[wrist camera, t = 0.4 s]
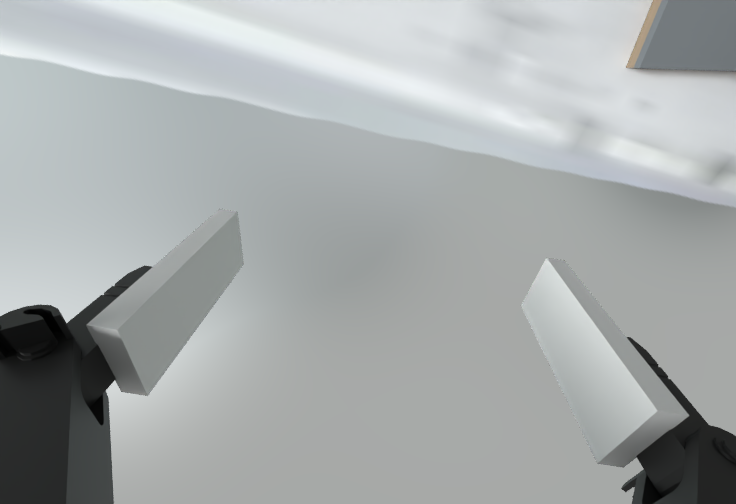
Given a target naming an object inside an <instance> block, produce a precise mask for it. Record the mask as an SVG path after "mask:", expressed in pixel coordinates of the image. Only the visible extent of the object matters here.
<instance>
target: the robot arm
mask: <svg viewBox="0 0 736 504" xmlns="http://www.w3.org/2000/svg"><path fill="white" fill-rule="evenodd" d="M243 264H244V263H243V255H242V245H241V237H240V229H239V220H238V212H237V211H231V210H223V209H219V210H218V211H216V212H215V213H214V214H213V215H212V216H211V217H210V218H208V219H207V220H206V221H205V222H204V223H203V224H202V225H200V226H199V227H198V228H197V229H196V230H195V231H193V232H192V233H191V234H190V235H189V236H188V237H187V238H186V239H184V240H183V241H182V242H181V243H180V244H179V245H177V246H176V247H175V248H174V249H173V250H172V251H170V252H169V253H168V254H167V255H166V256H165V257H164V258H163V259H161V260H160V261H159V262H158V263H157V264H156V265H154V266H153V267H150V266H143V267H141V268H139V269H137V270H134V271H132V272H130V273H128V274H127V275H126V276H124V277H123V278H122V279H121V280H119V281H118V282H117V283H116V284H115V286H112V287H111V288H110V289H108V290H107V291H106V292H105V293H104V295H101V296H100V297H99V298H97V299H96V300H95V301H94V302H92V303H91V304H90V305H89V306H87V307H86V308H85V309H84V310H83V311H81V312H80V313H79V314H78V315H76V316H75V317H74V318H73V319H71V320H70V321H69V322H68V323H67V324H66V322H65V320H64V318H63V317H62V315H61V313H60V312H59V310H58V309H57V308H55V307H53V306H51V305H34V306H27V307H23V308H20V309H17V310H14V311H10V312H8V313H6V314H4V315H2V316H0V504H113V503H114V502H113V481H112V461H111V441H110V420H109V401H108V396H107V393H106V389H107V388H108V387H109V386H110V385H111V384H112V383H113V381H114V380H115V381H116V382H117V384H118V386H119V388H120V390H121V392H125V393H133V394H139V395H145V396H148V395H149V393H150V392H151V390H152V389H153V388H154V387H155V385H156V384H157V382H158V381H159V380H160V378H161V377H162V375H163V374H164V373H165V371H166V370H167V368H168V367H169V366H170V365H171V363H172V362H173V360H174V359H175V358H176V356H177V355H178V354H179V352H180V351H181V350H182V348H183V347H184V345H185V344H186V343H187V341H188V340H189V339H190V337H191V336H192V334H193V333H194V332H195V330H196V329H197V328H198V326H199V325H200V324H201V322H202V321H203V320H204V318H205V317H206V315H207V314H208V313H209V311H210V310H211V309H212V307H213V306H214V304H215V303H216V302H217V300H218V299H219V298H220V296H221V295H222V294H223V292H224V291H225V289H226V288H227V287H228V285H229V284H230V283H231V281H232V280H233V278H234V277H235V276H236V274H237V273H238V272H239V270H240V269H241V268H242V266H243ZM521 307H522V309H523V311H524V314H525V315H526V318H527V320H528V322H529V324H530V326H531V328H532V330H533V332H534V334H535V336H536V338H537V340H538V342H539V344H540V346H541V348H542V351H543V352H544V354H545V357H546V359H547V361H548V363H549V365H550V367H551V369H552V371H553V373H554V375H555V377H556V379H557V382H558V384H559V385H560V387H561V389H562V392H563V394H564V396H565V398H566V400H567V402H568V404H569V406H570V408H571V410H572V412H573V414H574V416H575V418H576V420H577V423H578V425H579V427H580V429H581V431H582V433H583V435H584V437H585V439H586V441H587V443H588V445H589V447H590V449H591V452H592V454H593V456H594V458H595V460H596V462H597V463H598V464H604V465H610V466H617V467H625V466H626V465H627V464H629V463H630V462H631V461H632V460H634V459H635V458H636V457H637V458H638V460H639V462H640V463H641V465H642V467H643V468H644V470H642V471H641V472H640V473H638V474H637V475H636V476H634V477H633V478H632V479H630V480H629V481H628V482H626V483H625V484H624V485H623V487H622V490H624V491H625V492H627V491H628V490H629V489H631V488H632V487H635V491H634V495H633V501H632V504H736V436H734V435H733V434H731V433H729V432H727V431H725V430H723V429H721V428H718V427H714V426H710V425H708V424H707V422H706V421H705V420H704V419H703V418H702V416H701V415H700V414H699V413H698V412H697V411H696V409H695V408H694V407H693V406H692V404H691V403H690V402H689V401H688V400H687V398H686V397H685V396H684V395H683V394H682V392H681V391H680V390H679V389H678V388H677V386H676V385H675V384H674V383H673V382H672V381H671V380H670V379H668V376H667V374H666V373H665V372H664V371H663V370H662V369H661V368H660V367H658V364H657V362H656V361H655V360H654V359H653V358H652V357H651V355H650V354H649V353H648V352H647V351H646V350H645V349H644V348H643V347H641V346H640V345H639V344H638V343H637V342H635V341H634V340H633V339H632V338H630V337H626V336H625V335H624V334H623V332H622V331H621V330H620V329H619V328H618V326H617V325H616V324H615V322H614V321H613V320H612V319H611V317H609V315H608V314H607V312H606V311H605V310H604V309H603V308H602V306H601V305H600V304H599V303H598V301H597V300H596V299H595V298H594V296H593V295H592V294H591V293H590V291H589V290H588V289H587V288H586V286H585V285H584V284H583V283H582V281H581V280H580V279H579V278H578V277H577V275H576V274H575V273H574V271H573V270H572V269H571V268H570V267H569V265H568V264H567V263H566V262H565V260H558V259H552V258H546V260H545V262H544V264H543V266H542V267H541V269H540V271H539V273H538V275H537V277H536V279H535V280H534V282H533V284H532V286H531V288H530V290H529V292H528V294H527V296H526V297H525V299H524V301H523V303H522V305H521Z"/></svg>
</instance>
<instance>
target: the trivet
mask: <svg viewBox="0 0 736 504" xmlns="http://www.w3.org/2000/svg"><path fill="white" fill-rule="evenodd" d="M626 68H647V69H679V70H712V71H736V0H653V2H652V5H651V7H650V10H649V12H648V14H647V17H646V19H645V22H644V24H643V27H642V29H641V32H640V34H639V37H638V39H637V42H636V44H635V47H634V49H633V51H632V54H631V56H630V59H629V61H628V64H627V66H626Z"/></svg>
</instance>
